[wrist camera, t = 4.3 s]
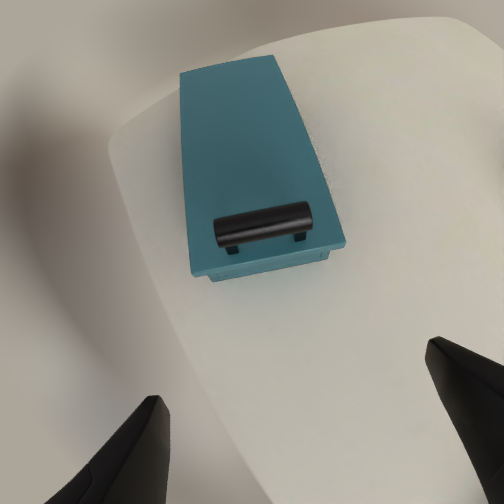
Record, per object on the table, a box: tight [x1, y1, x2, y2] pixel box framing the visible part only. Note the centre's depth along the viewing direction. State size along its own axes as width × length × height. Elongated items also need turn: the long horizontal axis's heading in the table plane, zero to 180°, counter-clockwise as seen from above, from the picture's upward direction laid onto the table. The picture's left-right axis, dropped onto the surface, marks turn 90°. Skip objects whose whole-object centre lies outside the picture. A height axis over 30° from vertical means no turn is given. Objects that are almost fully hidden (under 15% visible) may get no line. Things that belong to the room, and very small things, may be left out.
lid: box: [180, 55, 346, 277], centre depth 21 cm, size 21×9×4 cm, turn 10°
